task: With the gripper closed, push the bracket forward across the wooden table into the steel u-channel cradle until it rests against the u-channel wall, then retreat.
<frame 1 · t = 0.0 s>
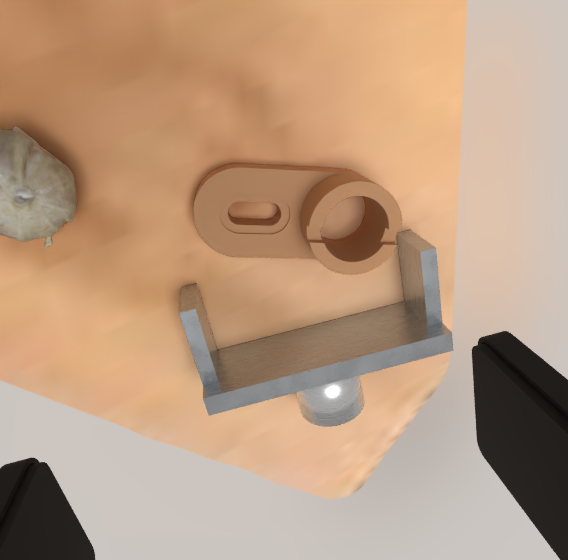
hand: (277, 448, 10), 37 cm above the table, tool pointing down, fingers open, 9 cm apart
bracket: (287, 208, 47), on the table
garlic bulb: (40, 180, 42), on the table
steel u-channel: (313, 333, 52), on the table
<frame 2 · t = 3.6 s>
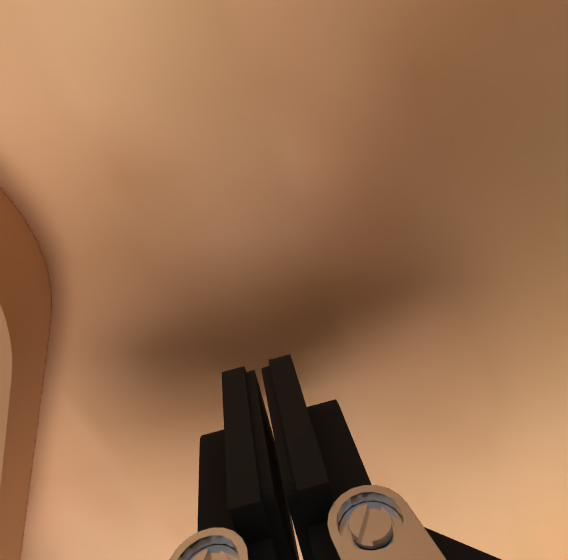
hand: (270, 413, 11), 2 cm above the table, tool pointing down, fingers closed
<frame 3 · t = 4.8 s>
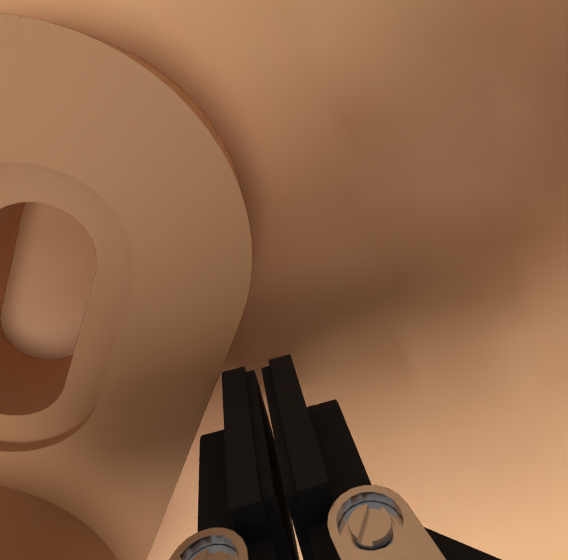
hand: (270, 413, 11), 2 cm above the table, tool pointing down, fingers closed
bracket: (35, 380, 13), on the table, touching gripper
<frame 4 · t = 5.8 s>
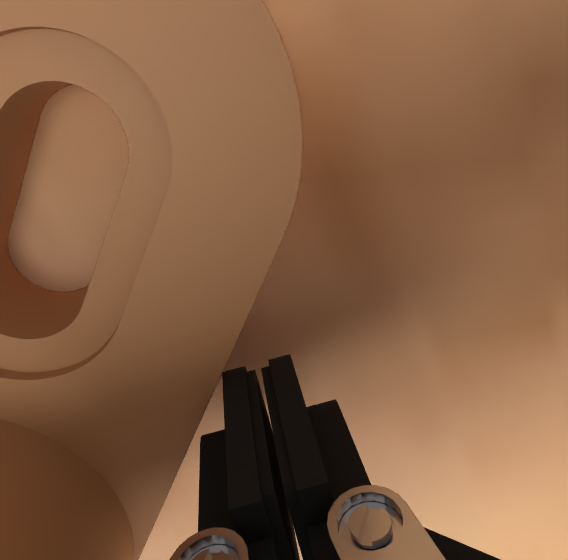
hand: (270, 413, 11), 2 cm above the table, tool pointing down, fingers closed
bracket: (39, 318, 12), on the table, touching steel u-channel, gripper
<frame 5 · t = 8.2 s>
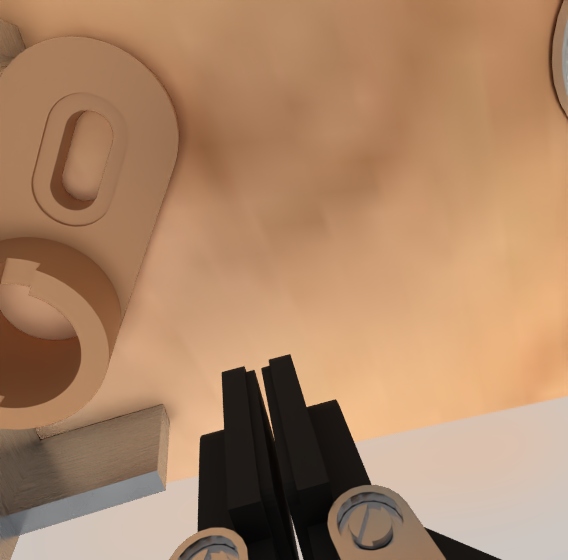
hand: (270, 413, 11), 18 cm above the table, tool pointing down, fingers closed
bracket: (74, 215, 26), on the table
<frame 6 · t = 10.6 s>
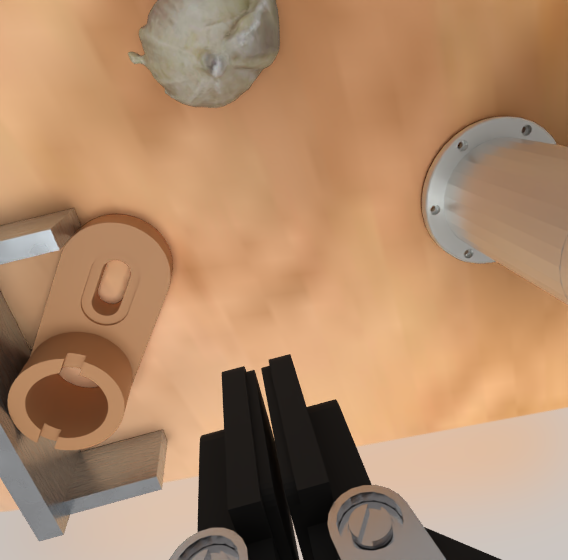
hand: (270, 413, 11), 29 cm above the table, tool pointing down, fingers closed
bracket: (105, 311, 41), on the table
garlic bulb: (205, 45, 34), on the table
steel u-channel: (24, 364, 41), on the table
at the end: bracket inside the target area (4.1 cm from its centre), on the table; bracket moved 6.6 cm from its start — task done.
